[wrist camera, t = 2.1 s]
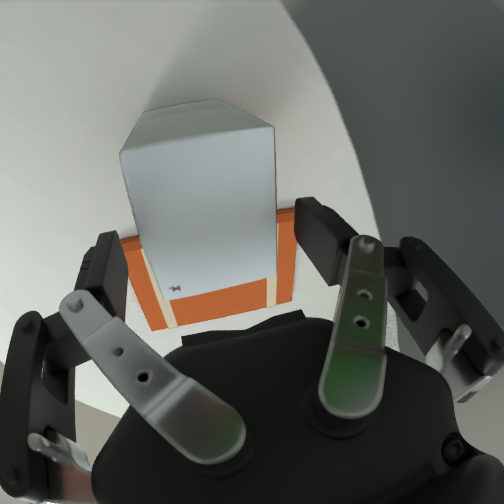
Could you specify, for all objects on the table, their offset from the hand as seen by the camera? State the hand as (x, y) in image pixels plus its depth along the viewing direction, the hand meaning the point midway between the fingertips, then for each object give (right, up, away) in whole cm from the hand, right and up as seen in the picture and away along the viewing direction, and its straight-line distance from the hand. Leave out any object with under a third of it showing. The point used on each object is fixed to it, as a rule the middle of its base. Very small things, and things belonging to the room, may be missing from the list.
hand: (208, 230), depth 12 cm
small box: (-4, +8, +10) cm, 13 cm away
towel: (-2, -3, +19) cm, 19 cm away
